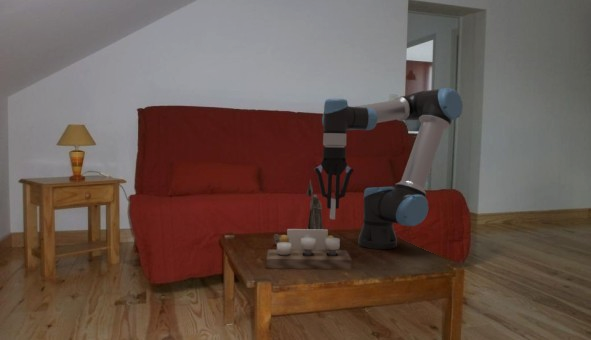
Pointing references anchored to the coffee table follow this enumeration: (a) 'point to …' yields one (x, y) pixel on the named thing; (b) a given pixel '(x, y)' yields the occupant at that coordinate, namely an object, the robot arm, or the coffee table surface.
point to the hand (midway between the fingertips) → (332, 218)
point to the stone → (277, 238)
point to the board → (309, 260)
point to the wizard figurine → (314, 210)
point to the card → (297, 234)
